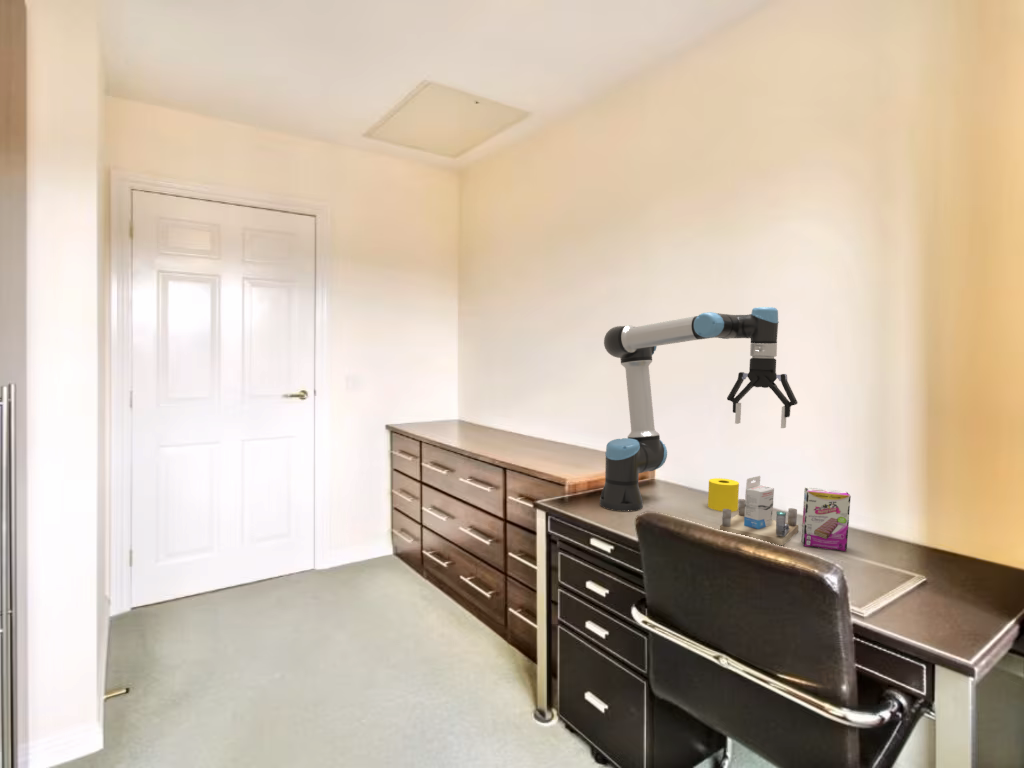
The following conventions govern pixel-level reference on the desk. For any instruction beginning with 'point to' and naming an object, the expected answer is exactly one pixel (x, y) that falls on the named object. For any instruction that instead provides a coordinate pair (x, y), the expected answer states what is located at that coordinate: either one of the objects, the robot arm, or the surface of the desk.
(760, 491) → the ink box
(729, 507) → the yellow paper roll
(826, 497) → the candy bar box
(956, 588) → the desk surface
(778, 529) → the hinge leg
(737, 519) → the peg board
